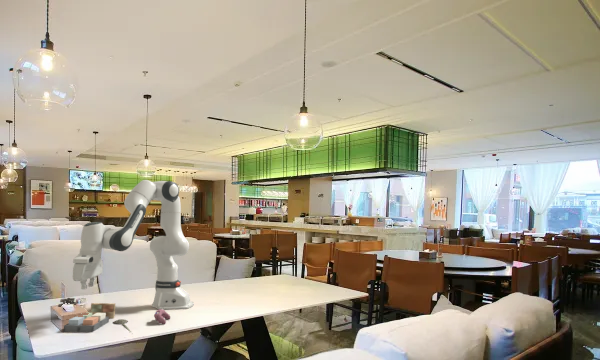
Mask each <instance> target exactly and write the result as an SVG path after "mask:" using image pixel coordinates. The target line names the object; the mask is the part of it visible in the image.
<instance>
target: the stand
mask: <svg viewBox="0 0 600 360" xmlns="http://www.w3.org/2000/svg"><path fill="white" fill-rule="evenodd" d="M89 313H92V315H94V314H96V313H106V317H109V319H115V315H116V314H115V313H116V303H114V302H112V303H111V302H109V303H106V302H105V303H103V302H102V303H101V302H99V303H98V302H91V304H90V312H89Z"/></svg>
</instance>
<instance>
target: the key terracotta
mask: <svg viewBox="0 0 600 360" xmlns="http://www.w3.org/2000/svg"><path fill="white" fill-rule="evenodd" d="M96 323H98V317H88V318H86V319H84V320H83V325H94V324H96Z"/></svg>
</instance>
